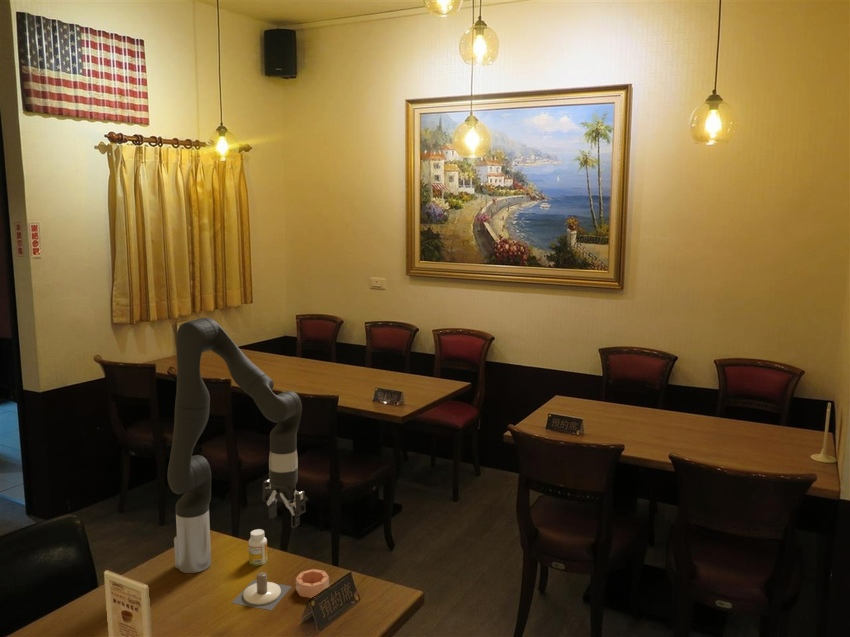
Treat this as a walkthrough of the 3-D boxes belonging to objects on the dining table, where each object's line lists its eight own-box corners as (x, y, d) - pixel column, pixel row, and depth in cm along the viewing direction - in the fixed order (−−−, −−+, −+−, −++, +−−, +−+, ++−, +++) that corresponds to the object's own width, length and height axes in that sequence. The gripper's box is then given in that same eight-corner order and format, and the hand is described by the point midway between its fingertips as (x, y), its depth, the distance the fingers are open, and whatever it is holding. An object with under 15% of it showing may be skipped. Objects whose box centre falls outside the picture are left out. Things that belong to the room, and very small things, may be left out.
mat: (231, 604, 186) (231, 602, 186) (253, 581, 197) (253, 579, 197) (271, 612, 183) (271, 610, 183) (292, 588, 194) (292, 586, 194)
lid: (236, 601, 186) (235, 581, 185) (254, 582, 196) (254, 563, 195) (270, 607, 184) (269, 587, 183) (287, 587, 193) (286, 568, 192)
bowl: (292, 596, 190) (291, 583, 189) (305, 580, 198) (305, 567, 197) (320, 601, 188) (320, 587, 187) (332, 585, 196) (332, 572, 195)
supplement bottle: (260, 556, 211) (259, 526, 210) (271, 562, 208) (270, 531, 207) (245, 563, 207) (244, 532, 206) (256, 569, 204) (255, 538, 202)
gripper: (254, 463, 187) (255, 519, 190) (292, 476, 179) (292, 535, 182) (275, 455, 193) (275, 509, 196) (312, 468, 185) (312, 524, 188)
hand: (283, 522), depth 189 cm, fingers open, 8 cm apart
